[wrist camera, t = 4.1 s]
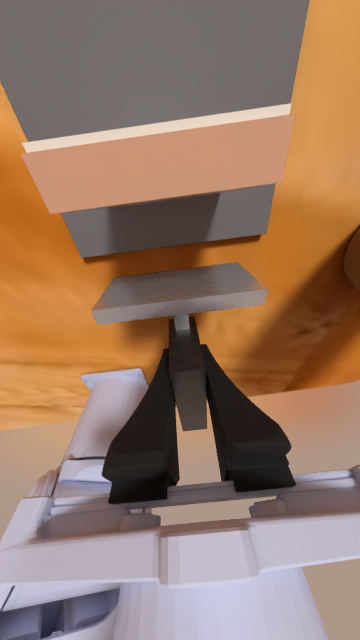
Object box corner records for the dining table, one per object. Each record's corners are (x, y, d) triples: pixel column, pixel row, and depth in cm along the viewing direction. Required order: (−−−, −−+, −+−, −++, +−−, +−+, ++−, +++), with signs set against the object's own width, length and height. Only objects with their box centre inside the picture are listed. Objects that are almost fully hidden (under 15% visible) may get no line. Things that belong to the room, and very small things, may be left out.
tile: (220, 193, 10) (281, 182, 5) (114, 207, 11) (50, 214, 5) (221, 161, 9) (298, 100, 4) (105, 177, 10) (14, 142, 4)
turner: (225, 373, 17) (243, 424, 13) (152, 381, 17) (147, 435, 13) (237, 262, 10) (280, 300, 6) (114, 277, 10) (80, 324, 6)
